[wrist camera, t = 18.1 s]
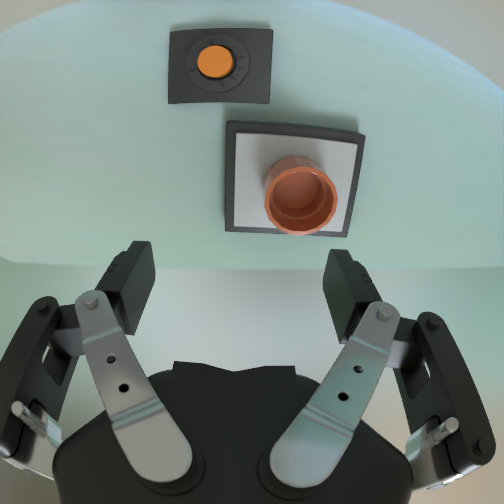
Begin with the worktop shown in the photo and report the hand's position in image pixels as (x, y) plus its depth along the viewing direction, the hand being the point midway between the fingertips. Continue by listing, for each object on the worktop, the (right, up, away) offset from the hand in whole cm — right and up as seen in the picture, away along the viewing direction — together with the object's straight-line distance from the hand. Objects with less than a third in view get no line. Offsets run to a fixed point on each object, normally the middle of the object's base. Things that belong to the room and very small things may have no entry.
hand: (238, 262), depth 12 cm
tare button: (-3, +18, +9) cm, 20 cm away
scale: (+5, +8, +17) cm, 20 cm away
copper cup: (+5, +7, +15) cm, 18 cm away
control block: (-3, +19, +11) cm, 22 cm away
